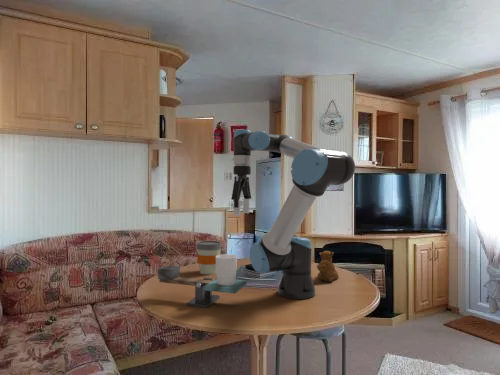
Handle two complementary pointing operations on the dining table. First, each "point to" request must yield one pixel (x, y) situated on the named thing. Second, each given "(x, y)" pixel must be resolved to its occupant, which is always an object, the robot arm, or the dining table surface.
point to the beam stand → (202, 296)
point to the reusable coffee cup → (208, 256)
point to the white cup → (226, 269)
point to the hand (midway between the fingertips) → (241, 214)
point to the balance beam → (196, 280)
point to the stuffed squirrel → (327, 267)
